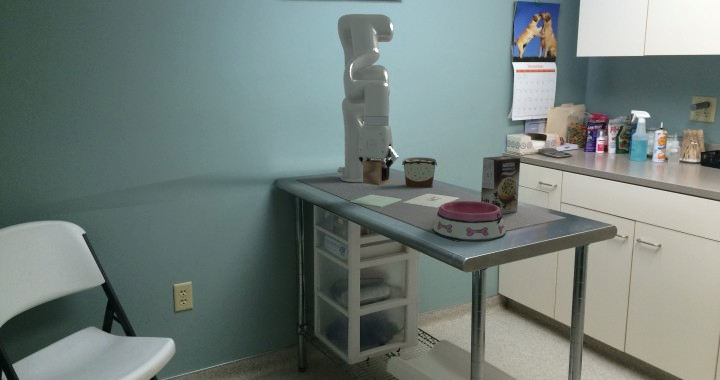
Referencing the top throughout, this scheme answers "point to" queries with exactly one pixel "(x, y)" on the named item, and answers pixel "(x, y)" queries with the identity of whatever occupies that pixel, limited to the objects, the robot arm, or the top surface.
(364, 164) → the walnut block
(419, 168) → the food container
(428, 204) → the card
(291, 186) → the top surface
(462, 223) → the dog bowl
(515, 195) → the coffee box
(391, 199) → the mat
